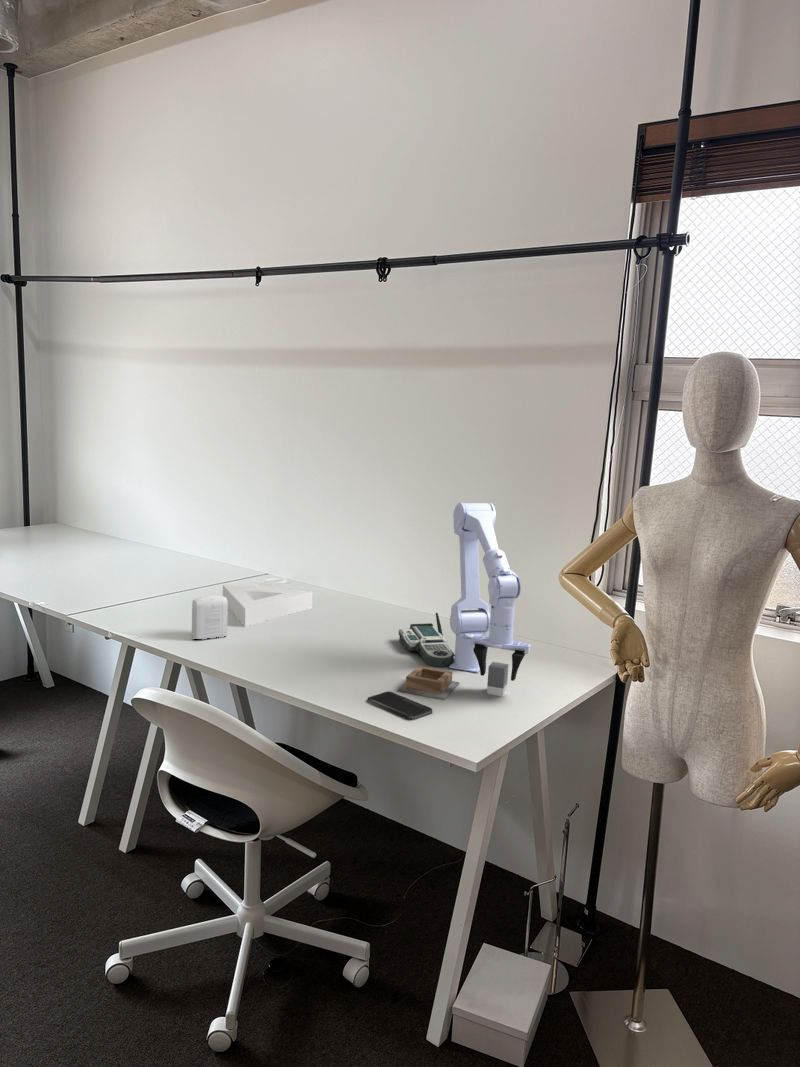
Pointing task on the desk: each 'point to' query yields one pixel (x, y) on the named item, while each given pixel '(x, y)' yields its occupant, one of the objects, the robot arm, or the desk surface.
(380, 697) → the phone
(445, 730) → the desk surface
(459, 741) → the desk surface
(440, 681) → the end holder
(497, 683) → the connector plug
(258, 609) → the triangle block
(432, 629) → the communication device
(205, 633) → the white upright block
